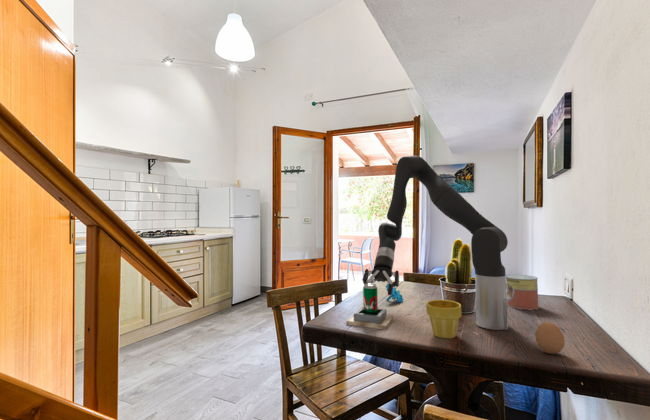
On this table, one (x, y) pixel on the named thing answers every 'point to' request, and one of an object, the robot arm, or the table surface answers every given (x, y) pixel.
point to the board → (383, 325)
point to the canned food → (522, 291)
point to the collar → (370, 316)
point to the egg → (549, 338)
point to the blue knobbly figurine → (395, 295)
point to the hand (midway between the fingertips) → (378, 293)
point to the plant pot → (444, 317)
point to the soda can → (370, 299)
